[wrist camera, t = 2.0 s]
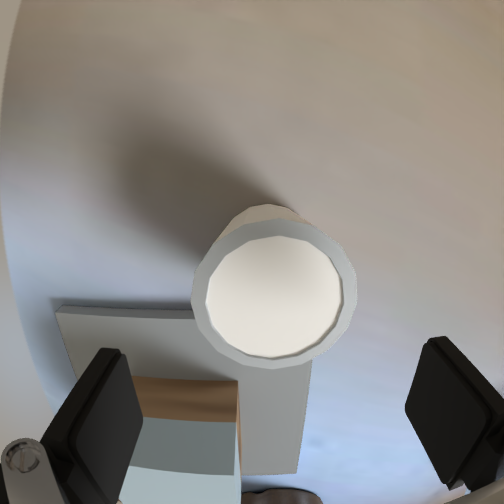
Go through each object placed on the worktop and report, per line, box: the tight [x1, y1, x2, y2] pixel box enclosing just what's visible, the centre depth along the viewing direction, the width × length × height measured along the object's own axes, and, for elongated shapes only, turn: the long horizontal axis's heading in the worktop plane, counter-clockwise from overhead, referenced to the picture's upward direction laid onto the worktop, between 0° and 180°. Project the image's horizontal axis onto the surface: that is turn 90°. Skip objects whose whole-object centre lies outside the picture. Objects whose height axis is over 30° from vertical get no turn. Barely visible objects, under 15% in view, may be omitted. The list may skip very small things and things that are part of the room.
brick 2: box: [119, 417, 241, 504], centre depth 16 cm, size 8×8×4 cm
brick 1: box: [132, 376, 242, 476], centre depth 20 cm, size 8×8×4 cm
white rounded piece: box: [190, 204, 357, 369], centre depth 16 cm, size 7×7×7 cm
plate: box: [55, 305, 312, 475], centre depth 23 cm, size 18×18×1 cm
